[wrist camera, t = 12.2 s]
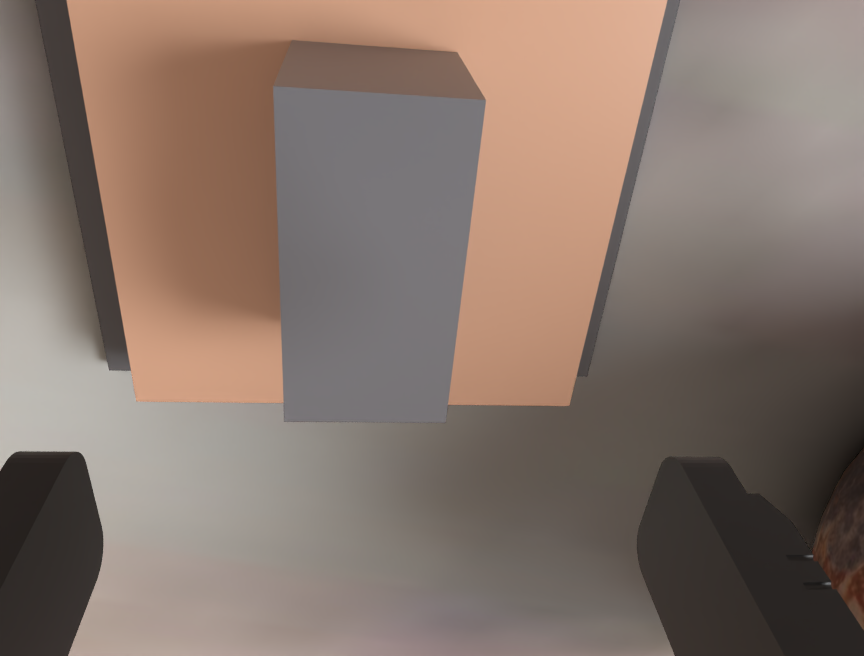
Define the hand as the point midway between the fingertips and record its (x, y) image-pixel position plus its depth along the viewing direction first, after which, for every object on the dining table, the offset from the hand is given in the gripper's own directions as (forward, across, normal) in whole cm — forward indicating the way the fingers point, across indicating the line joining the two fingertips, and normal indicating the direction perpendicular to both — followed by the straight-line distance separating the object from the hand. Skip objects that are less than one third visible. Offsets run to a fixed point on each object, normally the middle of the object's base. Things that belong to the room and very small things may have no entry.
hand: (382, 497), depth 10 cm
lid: (+13, 0, 0) cm, 13 cm away
